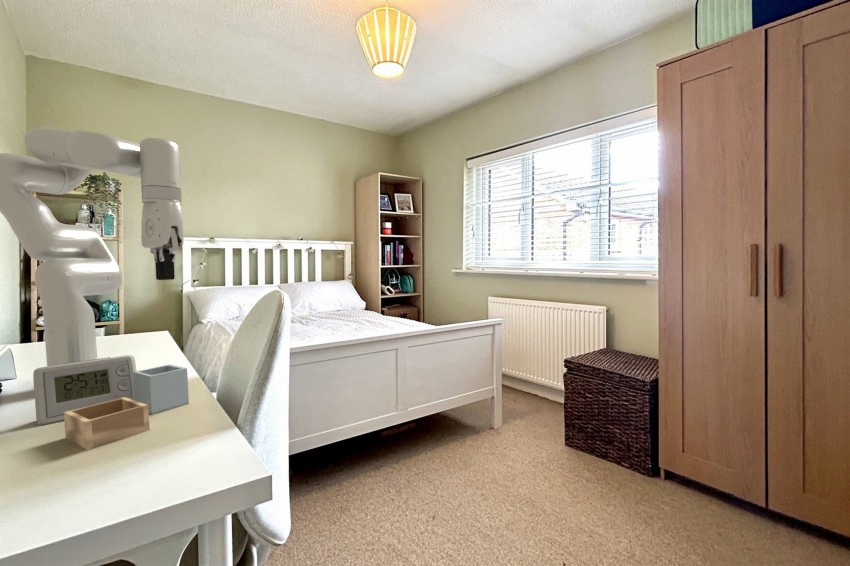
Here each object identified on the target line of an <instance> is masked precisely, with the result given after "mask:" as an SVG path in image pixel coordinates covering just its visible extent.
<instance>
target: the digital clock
mask: <svg viewBox="0 0 850 566" xmlns="http://www.w3.org/2000/svg"><path fill="white" fill-rule="evenodd" d="M136 371H137V363H136V358H135V356H134V355H132V354H131V355H130V354H127V355H120V356H113V357H111V356H108V357H102V358H97V359H93V360H86V361H79V362H72V363H65V364H62V365H54V366H47V365H46V366H42V367H37V368H35V369H34V370H33V374H32V375H33V376H32V379H33V390H34V391H33V392H34V393H33V394H34V405H35V407H34V408H35V419H36V423H37V425H38V426H43V425H49V424H54V423H58V422H59V423H60V422H63V421H64V412H67V411H71V410H75V409H79V408H83V407H87V406H91V405H95V404H99V403H103V402H107V401H111V400H115V399H119V398H123V397H126V398H129V399H132V400H135V394H134V378H133V372H136Z"/></svg>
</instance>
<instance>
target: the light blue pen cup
mask: <svg viewBox="0 0 850 566" xmlns="http://www.w3.org/2000/svg"><path fill="white" fill-rule="evenodd" d="M133 378H134V394H135V401H138V402H141V403H144V404H147V405H148V410H149V415H155V414H156V415H157V414H159V413H162V412H166V411H169V410H170V411H171V410H173V409H175V408H179V407H183V406H186V405H190V401H189V396H190V395H189V382H188V381H189V380H188V368H187V367H183V366H178V365H173V364H165V365H161V366H155V367H152V368H151V367H150V368H147V369H141V370H140V369H139V370H136V372H133Z"/></svg>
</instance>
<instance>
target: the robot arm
mask: <svg viewBox="0 0 850 566" xmlns="http://www.w3.org/2000/svg"><path fill="white" fill-rule="evenodd" d="M23 141H24V146H25V147H26V149H27V151H28V153H30V154H31V155H32V156H29V155H23V154H18V153H11V152H10V153H9V152H6V153H5V152H0V214H2V215H3V217H4V218H5V220H6V221H7V222H8V225H9V226H10V228H11V230H12V231H13V233H14V235H15V236H16V238H17V239H18V241H19V243H20V244H21V247H22V248H23V249H24V251H25V252H26V253H27V255H28V256H29V257H30V258H32V259H34V260H36V261H39V262H41V263H40V264H39V265H38V266H37V267H36V268H35V271H34V283H35V286H36V289H37V292H38V295H39V299H40V302H41V309H42V316H43V329H44V342H45V343H44V344H45V356H46V359H45V360H46V367H47V366H54V365H62V364H65V363H72V362H79V361H86V360H93V359H98V352H97V350H98V349H97V335H96V333H97V332H96V323H95V322H96V321H95V320H96V319H95V314H94V310H93V307H92V306H91V305H90V303H88V301H87V300H86V299H85V298H84V297H85V296H86V297H87V296H97V295H99V296H100V295H106V294H107V295H108V294H112V293H114V292H116V291H118V289H119V288H120V287H121V285H122V283H123V274H122V270H121V267H120V266H119V263H118V262H117V261H116V259H115V257H114V256H113V254H112V252H111V250H110V249H109V247H108V245H107V244H106V243H105V241H104V240H103V238H102V237H101V235H100V234H99V233H98V232H97V231H96V230H94V229H93V228H92V227H91V228H90V227H89V226H85V225H80V224H67V223H62V222H60V221H59V220H57V219H56V217H55V216H54V214H53V212H52V211H51V209H50V208H49V207H48V205H46V203H44V202H43V201H42V200H40V199H39V198H37V196H34V195H33V194H32V193H30V192H34V193H41V194H42V193H44V194H51V195H65V194H69V193H71V192H72V191H74V189H76V188H77V187H78V186H79V185H80V184H81V183H82V182H83V181H84V180H85V179H86V178H87V177H89V176H90V175H91V174H92V173H93V172H94V171H95V170H99V171H104V172H109V173H110V172H111V173H115V174H119V175H120V174H121V175H125V176H126V175H127V176H129V177H135V178H140V186H141V188H140V189H141V191H140V192H141V203H142V204H143V205H142V211H141V224H140V225H141V228H140V229H141V230H140V231H141V234H140V236H141V237H140V238H141V239H140V241H141V246H142V247H143V248H145V249H149V250H150V254H153V259H154V263H155V279H156V280H157V281H171V280H173V281H174V280H175V279H176V278H175V277H176V276H175V261H176V254H178V253H179V252H180V247H183V245H184V237H185V235H184V222H183V215H182V208H181V205H182V204H183V203H182V202H183V200H182V199H183V198H182V176H181V153H180V152H181V151H180V148H179V145H178V144H177V143H176V142H174V141H172V140H169V139H165V138H158V137H147V138H143V139H142V140H141V141H140V142H136V141H131V140H129V139H128V140H127V139H124V138H121V137H118V136H114V135H110V134H106V133H100V132H96V131H88V130H81V129H79V130H78V129H76V130H72V129H66V128H59V127H51V126H38V127H35V128H32V129H30V130H29V131H27V133H26V134H25V135H24V140H23ZM182 206H183V205H182Z"/></svg>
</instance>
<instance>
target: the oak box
mask: <svg viewBox="0 0 850 566" xmlns="http://www.w3.org/2000/svg"><path fill="white" fill-rule="evenodd" d="M150 428H151V427H150V414H149V410H148V405H147V404H144V403H141V402H138V401H135V400H132V399H129V398H126V397H123V398H119V399H115V400H111V401H107V402H103V403H99V404H95V405H91V406H87V407H83V408H79V409H75V410H71V411H67V412H64V431H65V432H64V433H65V439H66V440H69V441H70V442H72V443H74V444H75V445H78V446H79V447H81V448H82V449H85V451H88V450H89V451H90V450H92V449H94V448H98V447H101V446H103V445H107V444H111V443H114V442H117V441H120V440H123V439H127V438H130V437H133V436H136V435H139V434H142V433H145V432H147V431H150Z"/></svg>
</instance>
